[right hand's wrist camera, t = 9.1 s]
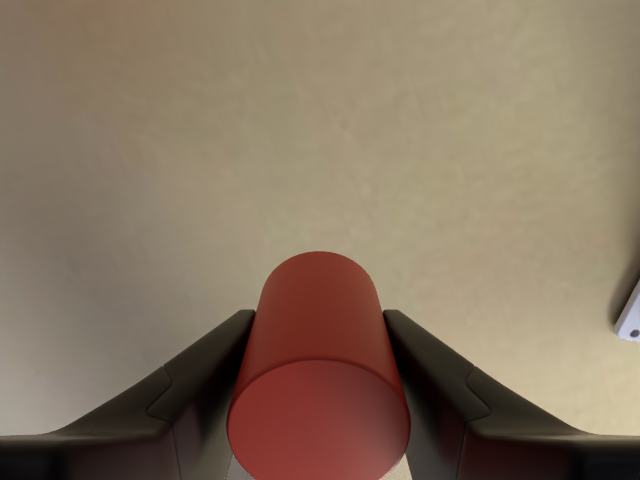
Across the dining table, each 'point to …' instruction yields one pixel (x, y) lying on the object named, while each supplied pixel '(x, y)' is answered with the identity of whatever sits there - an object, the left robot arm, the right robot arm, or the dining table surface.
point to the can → (318, 378)
